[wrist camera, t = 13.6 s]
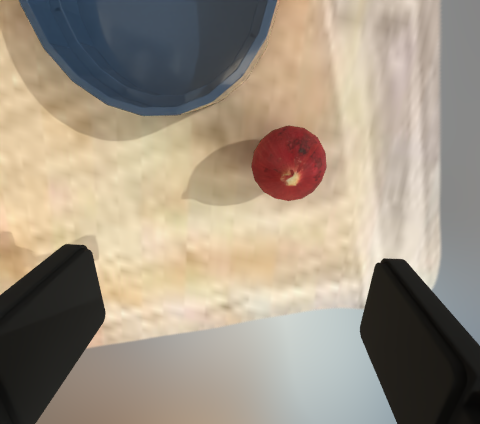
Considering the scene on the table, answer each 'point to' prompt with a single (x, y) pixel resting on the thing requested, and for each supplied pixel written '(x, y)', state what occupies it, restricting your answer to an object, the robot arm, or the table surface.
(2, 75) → the table surface
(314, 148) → the onion
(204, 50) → the bowl
